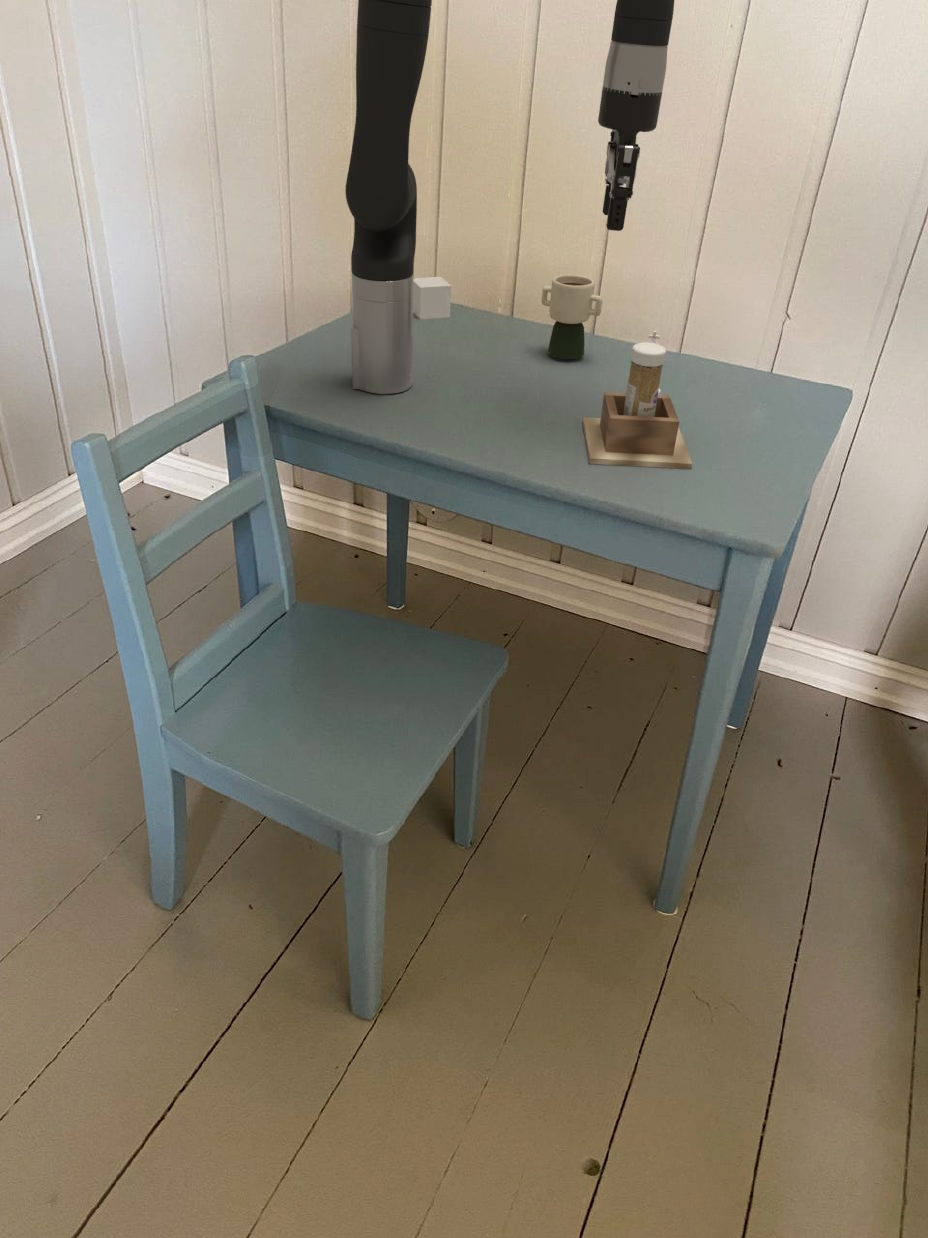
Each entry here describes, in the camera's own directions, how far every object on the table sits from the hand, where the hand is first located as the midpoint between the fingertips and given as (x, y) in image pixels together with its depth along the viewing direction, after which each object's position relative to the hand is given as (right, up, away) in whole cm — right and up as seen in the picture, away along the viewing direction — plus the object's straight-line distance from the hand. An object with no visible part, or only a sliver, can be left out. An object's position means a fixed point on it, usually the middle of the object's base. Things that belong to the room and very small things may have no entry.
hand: (612, 222), depth 126 cm
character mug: (-2, -8, +36) cm, 37 cm away
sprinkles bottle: (+4, -28, +7) cm, 29 cm away
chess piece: (+9, -18, +24) cm, 31 cm away
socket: (+4, -29, +7) cm, 30 cm away
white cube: (-27, +5, +52) cm, 59 cm away
